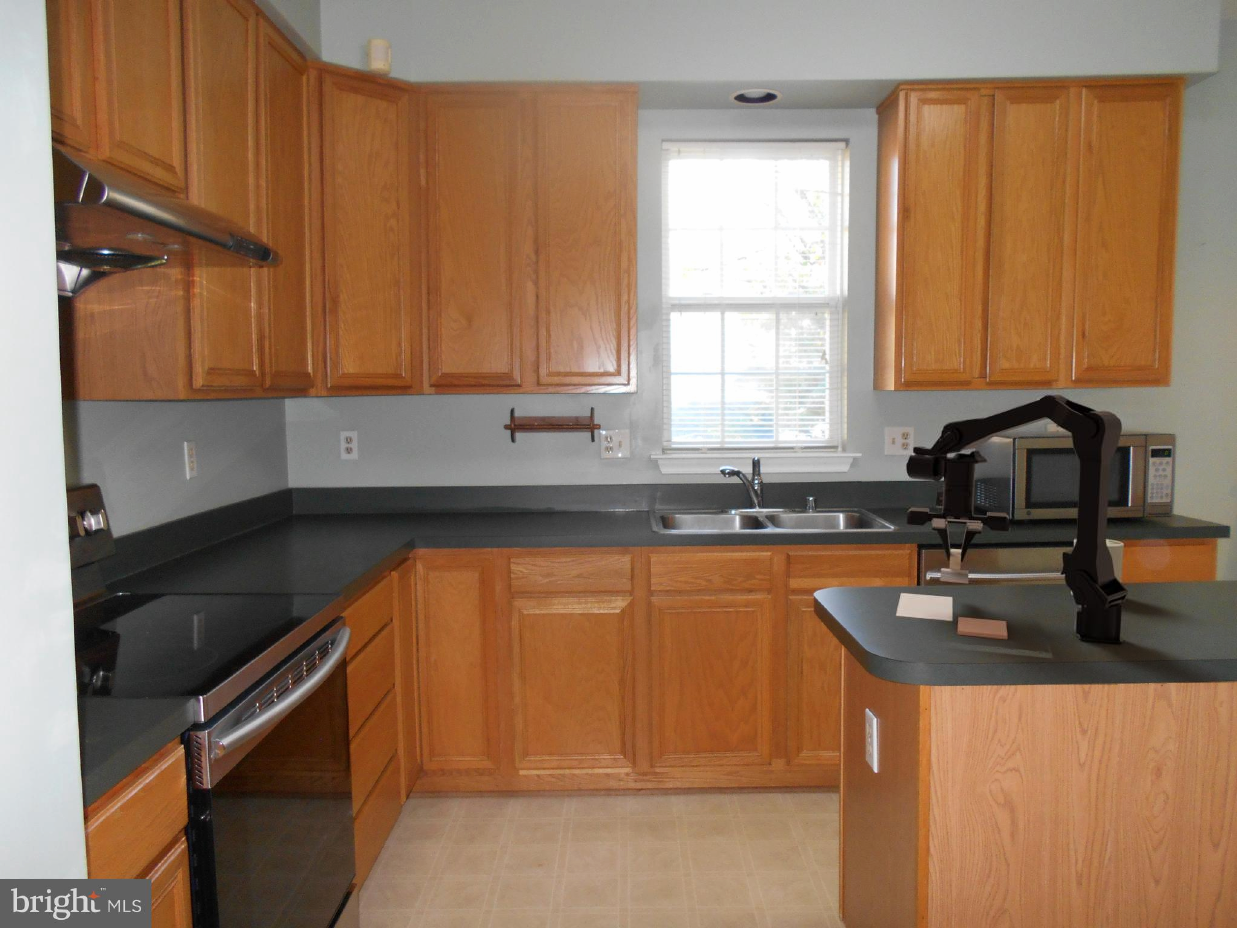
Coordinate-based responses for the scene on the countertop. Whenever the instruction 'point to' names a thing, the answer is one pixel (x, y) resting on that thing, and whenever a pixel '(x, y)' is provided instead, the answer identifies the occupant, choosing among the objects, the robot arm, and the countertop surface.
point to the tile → (982, 628)
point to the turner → (954, 569)
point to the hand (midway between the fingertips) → (955, 561)
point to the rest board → (925, 606)
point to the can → (1114, 556)
